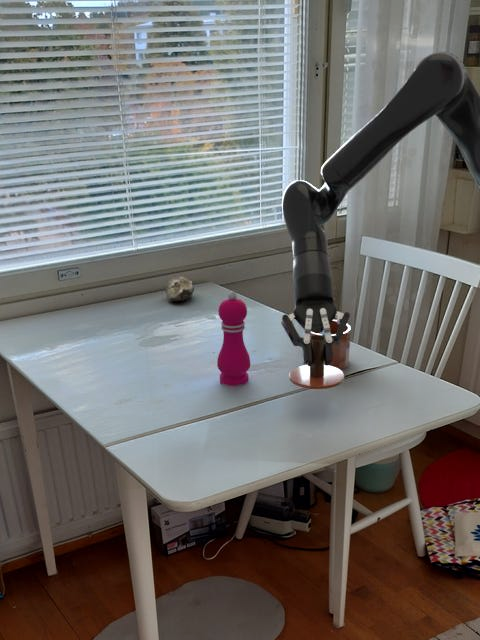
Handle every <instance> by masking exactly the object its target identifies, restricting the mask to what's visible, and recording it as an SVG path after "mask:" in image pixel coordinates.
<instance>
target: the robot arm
mask: <svg viewBox="0 0 480 640" xmlns="http://www.w3.org/2000/svg"><path fill="white" fill-rule="evenodd" d="M432 117H435V118H436V119H438V121H439V122H440V124H442V126H443V127H444V128H445V129H446V131H448V133H449V135H450V136H451V137H452V138H453V140H454V142H455V143H456V145H457V147H458V149H459V152H460V154H461V155H462V158H463V160H464V162H465V164H466V166H467V169H468V171H469V172H470V175H471V176H472V178H473V180H474V182H475V184H476V185H477V187H478V188H479V189H480V94H479V91H478V90H477V88H476V86H475V84H474V83H473V81H472V79H471V77H470V75H469V73H468V71H467V69H466V66H465V65H464V63H463V61H462V60H461V59H460V58H459V57H458V56H457V55H455V54H454V53H452V52H449V51H437V52H433V53H430V54H428V55H427V56H425V57H423V59H421V60H420V61H419V62H418V64H417V65H416V67H415V68H414V70H413V72H412V73H411V75H410V76H408V78H407V80H406V81H405V82H404V84H403V85H402V86H401V88H400V89H399V90H398V91H397V93H396V94H395V95H394V96H393V97H392V98H391V99H390V101H388V103H387V104H386V105H385V106H384V107H383V108H382V110H380V111H379V112H378V113H377V114H376V115H375V116H374V117H373V118H372V119H370V121H369V122H367V123H366V124H365V125H364V126H363V127H362V128H361V129H359V130H358V131H357V132H356V133H354V135H352V136H351V137H350V138H349V139H348V140H347V141H346V142H345V143H344V144H343V145H341V147H339V149H337V150H336V151H335V153H333V154H332V155H331V156H330V157H329V158H328V159H327V160H326V161H325V162H324V163H323V165H322V166H321V168H320V174H321V177H322V179H323V181H324V184H323V185H322V187H320V188H319V189H318V188H317V187H315V186H313V184H311V183H309V182H308V181H305V180H302V179H301V180H300V179H298V180H293V181H292V182H290V183H289V184H288V186H287V187H286V188H285V190H284V192H283V194H282V197H281V198H282V199H281V210H282V216H283V220H284V224H285V226H286V231H287V233H288V236H289V238H290V241H291V253H292V284H293V294H294V296H293V297H294V309H293V311H292V313H290V314H283V315H282V317H281V323H280V324H281V326H282V328H283V329H284V331H285V332H286V335H287V336H288V338H289V340H290V341H291V343H292V345H293V346H294V347H300V348H302V357H303V364H304V363H305V364H307V366H311V365H312V352H311V344H310V334H311V332H313V331H319V332H321V336H323V337H325V366H329V364H330V363H331V362H332V359H333V350H332V346H333V345H338V344H339V343H340V340H341V337H342V335H343V332H344V330H345V327H346V325H347V324H348V322H349V319H350V318H351V314H350V313H349V312H341V311H338V308H337V307H336V305H335V301H334V289H333V288H334V287H333V278H332V276H333V275H332V267H331V262H330V257H329V244H328V237H327V234H326V232H325V231H324V230H323V228H322V226H324V225H325V224H327V223H328V221H330V219H331V218H332V217H333V215H334V214H335V213H336V211H337V209H338V208H339V206H340V205H341V204H342V202H343V201H344V200H345V197H346V196H347V195H348V193H349V192H350V191H351V190H353V188H354V187H355V186H356V185H358V184H359V183H360V182H361V181H362V180H363V179H364V178H365V177H366V176H367V175H368V174H369V173H370V172H372V171H373V170H374V169H375V168H376V167H377V166H378V165H379V163H381V161H382V160H384V158H385V157H386V156H387V155H388V154H389V153H390V152H391V151H392V150H393V149H394V148H395V147H396V146H397V145H398V144H399V143H400V142H401V141H402V140H404V138H406V137H407V136H408V135H409V134H410V133H411V132H413V131H414V130H415V129H416V128H418V127H419V126H421V125H422V124H423V123H425V122H426V121H428V120H429V119H431V118H432ZM335 318H336V320H337V324H339V328H338V330H337V333H336V335H335V336H331V332H330V324H331V322H332V321H333V320H335ZM295 321H296V323H298V324H299V325H300V327H301V328H302V329H303V332H302V337H301V336H300V334H299V332H298V330H297V329H296V327H295Z"/></svg>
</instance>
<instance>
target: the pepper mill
mask: <svg viewBox="0 0 480 640" xmlns="http://www.w3.org/2000/svg"><path fill="white" fill-rule="evenodd" d="M227 297H228V298H226V299H224V300H223V301H221V302H220V304H219V305H218V309H217V310H218V312H217V313H218V317H219V318H220V320H221V322H220V325H221V326H220V328H221V330H222V333H223V338H222V339H223V340H222V344H221V348H220V351H219V353H218V356H217V362H216V366H217V369H218V370H219V371H220V372H221V373H220V374H219V383H220V385H226V386H231V387H236V386H242V385H245V384H247V383H248V382H249V373H248V371H249V369H250V368H251V357H250V354H249V352H248V349H247V347H246V345H245V341H244V333H243V332H244V330H245V329H246V326H245V325H246V322H245V321H244V320H245V319H246V317H247V316H248V308H247V305H246V303H245V301H243V300H241V299H240V298H237V297H238V295H237V293H236V291H232V290H231V291H229V292H228V295H227Z"/></svg>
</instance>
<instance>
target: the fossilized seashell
mask: <svg viewBox="0 0 480 640" xmlns="http://www.w3.org/2000/svg"><path fill="white" fill-rule="evenodd" d="M164 289H165V290H164V291H165V293H166V298H167V299H168V300H169V301H171V302H182V301H185V300H187V299H189V298H190V297H192V295H193V294H194V290H195V287H194V285H193V282H192V280H191V279H190V280H189V278H187V277H184V276H176V277H174V278H171V279H170V280H169V281H167V283H166V285H165V288H164Z"/></svg>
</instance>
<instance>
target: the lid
mask: <svg viewBox="0 0 480 640" xmlns="http://www.w3.org/2000/svg"><path fill="white" fill-rule="evenodd" d="M311 352H312V365H311V366H307V365H304V364H302V365H300V366H296V367H295V368H293V369H292V370H290V372H289V374H288V378H289V381H290V382H291V384H293V385H295V386H297V387H300V388H303V389H309V390H325V389H332V388H335V387H338V386H339V385H341V384H342V383H343V382H344V380H345V373H344V371H342V370H340V369H338V368H336V367H333V366H325V365H324V360H325V337H323V336H313V337H311Z"/></svg>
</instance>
